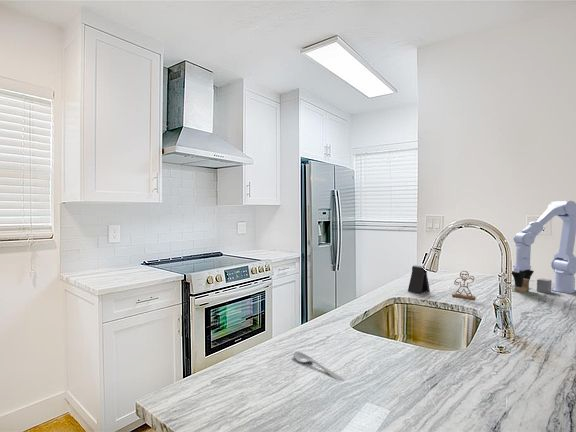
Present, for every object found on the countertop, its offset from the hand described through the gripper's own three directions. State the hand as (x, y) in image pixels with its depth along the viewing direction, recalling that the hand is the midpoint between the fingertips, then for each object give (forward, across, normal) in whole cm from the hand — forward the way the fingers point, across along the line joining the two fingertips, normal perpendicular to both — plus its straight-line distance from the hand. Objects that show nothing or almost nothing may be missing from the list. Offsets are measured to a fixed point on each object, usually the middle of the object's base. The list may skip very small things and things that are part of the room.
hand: (522, 285), depth 171 cm
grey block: (+3, -10, +6) cm, 12 cm away
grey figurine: (+3, +34, -11) cm, 35 cm away
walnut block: (+3, 0, 0) cm, 3 cm away
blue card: (+3, -8, -4) cm, 9 cm away
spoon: (+4, +132, +4) cm, 132 cm away
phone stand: (+3, +40, -29) cm, 50 cm away
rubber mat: (+3, 0, 0) cm, 3 cm away
